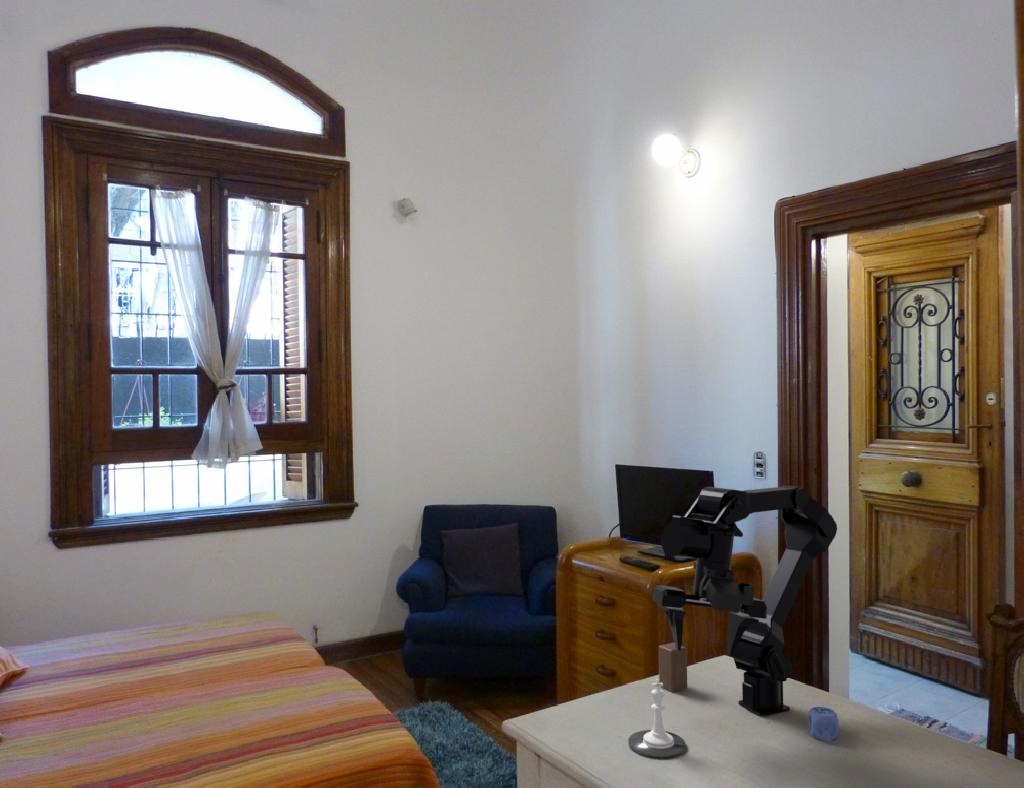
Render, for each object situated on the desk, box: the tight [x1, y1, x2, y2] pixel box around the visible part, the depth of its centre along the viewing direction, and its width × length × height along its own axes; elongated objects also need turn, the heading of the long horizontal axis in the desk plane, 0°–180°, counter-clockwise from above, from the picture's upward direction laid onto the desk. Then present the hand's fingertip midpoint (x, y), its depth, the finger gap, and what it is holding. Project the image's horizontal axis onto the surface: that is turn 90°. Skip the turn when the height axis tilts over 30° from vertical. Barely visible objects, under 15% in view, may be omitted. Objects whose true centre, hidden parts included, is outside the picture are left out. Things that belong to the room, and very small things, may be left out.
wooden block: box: [658, 642, 688, 693], centre depth 147 cm, size 4×4×8 cm
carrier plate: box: [627, 729, 686, 759], centre depth 122 cm, size 9×9×1 cm
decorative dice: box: [807, 706, 840, 741], centre depth 125 cm, size 4×4×4 cm
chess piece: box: [643, 678, 674, 749], centre depth 122 cm, size 5×5×10 cm
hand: (704, 653), depth 129 cm, fingers open, 9 cm apart
